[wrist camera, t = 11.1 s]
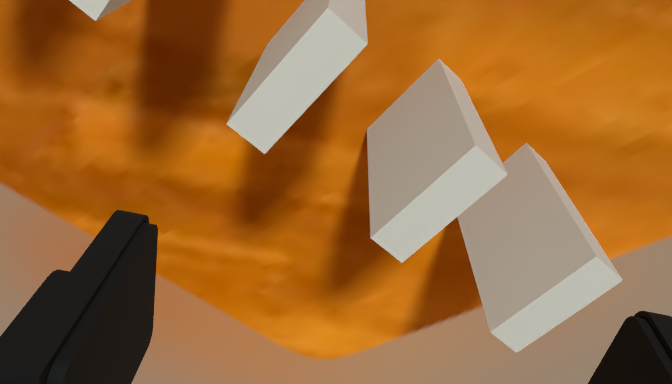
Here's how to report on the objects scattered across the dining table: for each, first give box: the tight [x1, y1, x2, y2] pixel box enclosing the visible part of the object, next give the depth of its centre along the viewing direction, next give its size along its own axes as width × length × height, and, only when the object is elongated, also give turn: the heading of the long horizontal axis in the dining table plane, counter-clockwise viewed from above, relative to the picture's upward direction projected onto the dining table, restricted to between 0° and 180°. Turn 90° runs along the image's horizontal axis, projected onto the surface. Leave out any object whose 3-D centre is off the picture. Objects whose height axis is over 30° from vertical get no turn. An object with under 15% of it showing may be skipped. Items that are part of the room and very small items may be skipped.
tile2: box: [367, 58, 508, 263], centre depth 25 cm, size 2×5×10 cm, turn 138°
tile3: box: [227, 0, 368, 154], centre depth 23 cm, size 2×5×10 cm, turn 138°
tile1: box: [457, 143, 623, 353], centre depth 27 cm, size 2×5×10 cm, turn 138°
